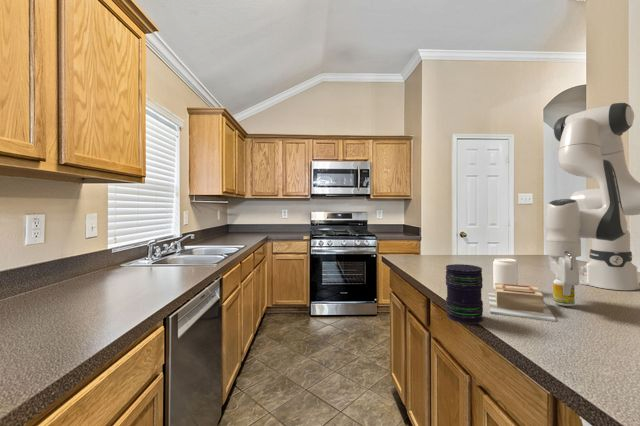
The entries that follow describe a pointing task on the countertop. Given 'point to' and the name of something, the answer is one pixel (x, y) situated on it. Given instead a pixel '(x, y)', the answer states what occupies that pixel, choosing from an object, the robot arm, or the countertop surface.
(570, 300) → the supplement bottle
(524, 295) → the stand
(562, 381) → the countertop surface
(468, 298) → the storage jar
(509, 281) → the beverage can
